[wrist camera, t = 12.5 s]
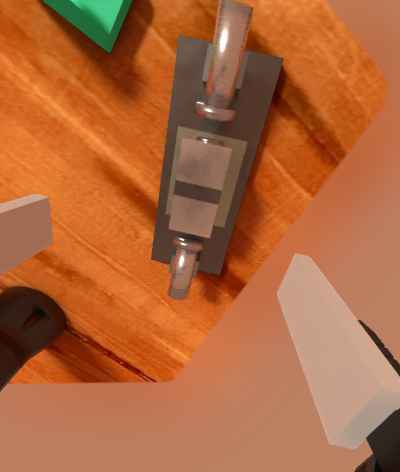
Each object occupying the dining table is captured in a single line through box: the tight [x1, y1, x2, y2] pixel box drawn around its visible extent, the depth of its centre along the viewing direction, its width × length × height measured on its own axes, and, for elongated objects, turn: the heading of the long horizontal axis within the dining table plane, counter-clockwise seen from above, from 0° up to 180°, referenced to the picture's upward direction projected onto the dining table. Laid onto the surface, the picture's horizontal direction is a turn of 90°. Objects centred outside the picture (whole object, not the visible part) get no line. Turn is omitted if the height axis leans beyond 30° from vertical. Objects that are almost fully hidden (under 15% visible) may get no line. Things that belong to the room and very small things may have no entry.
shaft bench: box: [151, 0, 284, 300], centre depth 27 cm, size 32×12×9 cm, turn 168°
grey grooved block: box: [169, 136, 232, 238], centre depth 26 cm, size 11×5×7 cm, turn 168°
